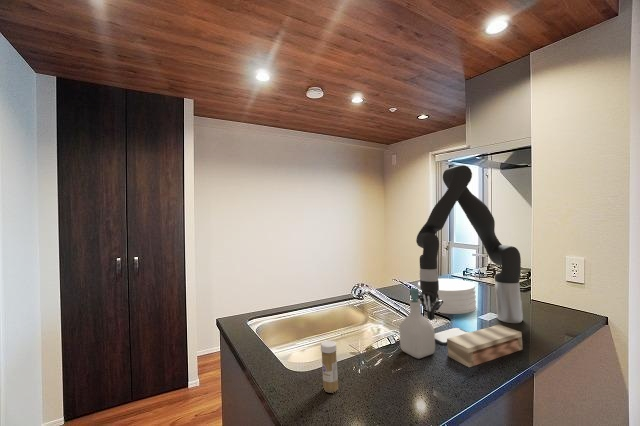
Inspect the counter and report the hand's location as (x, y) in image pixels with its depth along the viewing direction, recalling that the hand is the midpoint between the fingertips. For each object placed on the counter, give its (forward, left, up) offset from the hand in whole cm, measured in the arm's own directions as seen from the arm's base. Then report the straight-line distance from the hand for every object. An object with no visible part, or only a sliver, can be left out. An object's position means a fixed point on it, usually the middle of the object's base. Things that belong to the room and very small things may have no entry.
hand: (431, 319), depth 124 cm
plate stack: (-30, -21, -5) cm, 37 cm away
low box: (0, +25, -4) cm, 26 cm away
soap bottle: (+20, +14, -4) cm, 25 cm away
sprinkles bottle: (+57, +20, -4) cm, 60 cm away
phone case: (0, +10, -5) cm, 11 cm away
